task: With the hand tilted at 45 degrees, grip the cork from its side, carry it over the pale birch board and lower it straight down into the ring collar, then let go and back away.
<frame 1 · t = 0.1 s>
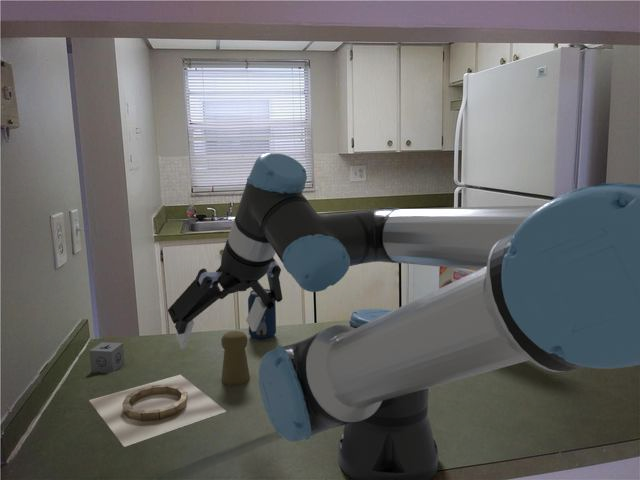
hand: (217, 333, 91), 15 cm above the counter, tool tilted 35°, fingers open, 13 cm apart
board: (156, 411, 95), on the counter
cork: (235, 385, 106), on the counter
collar: (156, 405, 94), resting on board
soda can: (262, 337, 133), on the counter
coffeecake box: (468, 344, 128), on the counter
dice cube: (108, 369, 114), on the counter
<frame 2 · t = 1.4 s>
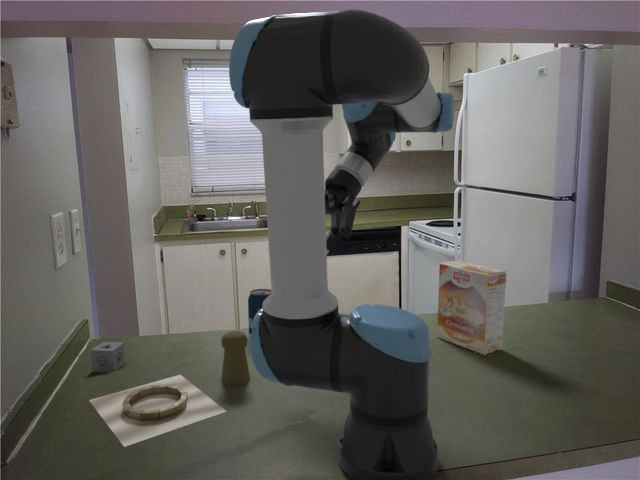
hand: (293, 255, 106), 26 cm above the counter, tool tilted 45°, fingers open, 13 cm apart
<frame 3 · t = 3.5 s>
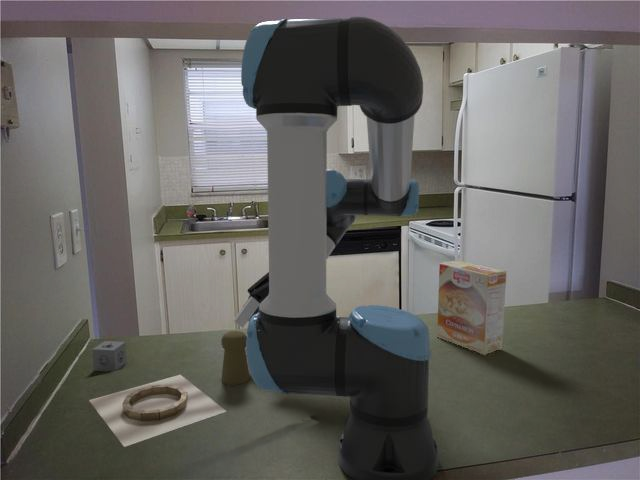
hand: (253, 332, 108), 10 cm above the counter, tool tilted 45°, fingers open, 13 cm apart
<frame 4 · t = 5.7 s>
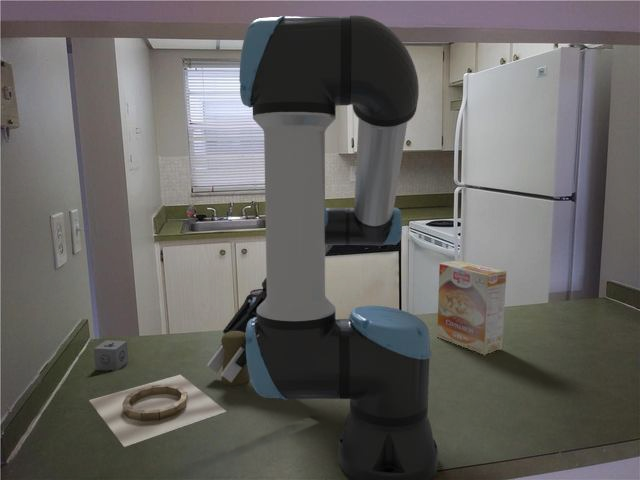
hand: (218, 373, 103), 3 cm above the counter, tool tilted 45°, fingers closed on cork, 5 cm apart
cork: (235, 385, 106), on the counter, touching gripper
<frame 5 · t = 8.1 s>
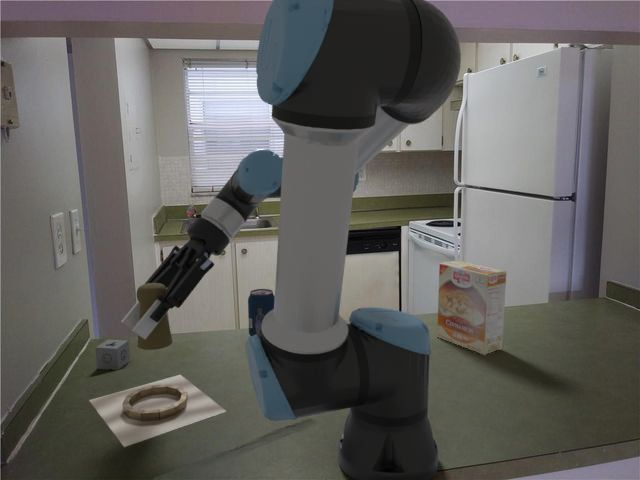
hand: (133, 330, 90), 16 cm above the counter, tool tilted 45°, fingers closed on cork, 5 cm apart
cork: (155, 344, 93), point 13 cm above the counter, touching gripper
when the fingers open (6 cm above the counter, at t = 10.4 s): cork drops 1 cm, resting on board.
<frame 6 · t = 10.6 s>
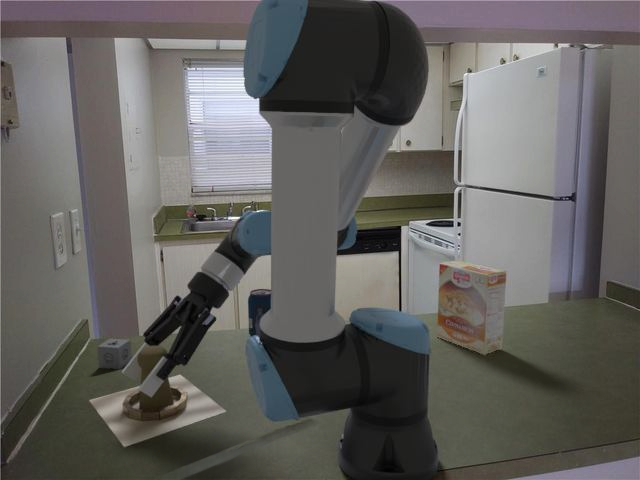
hand: (136, 384, 91), 6 cm above the counter, tool tilted 45°, fingers open, 8 cm apart
cork: (156, 406, 94), point 1 cm above the counter, touching board
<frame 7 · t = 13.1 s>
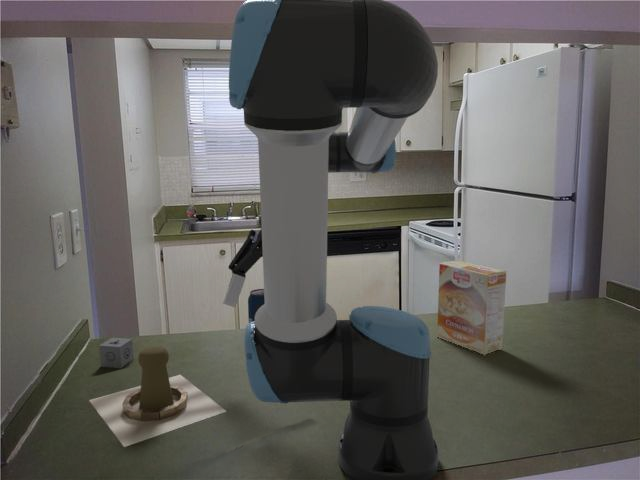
hand: (247, 311, 102), 16 cm above the counter, tool tilted 25°, fingers open, 13 cm apart
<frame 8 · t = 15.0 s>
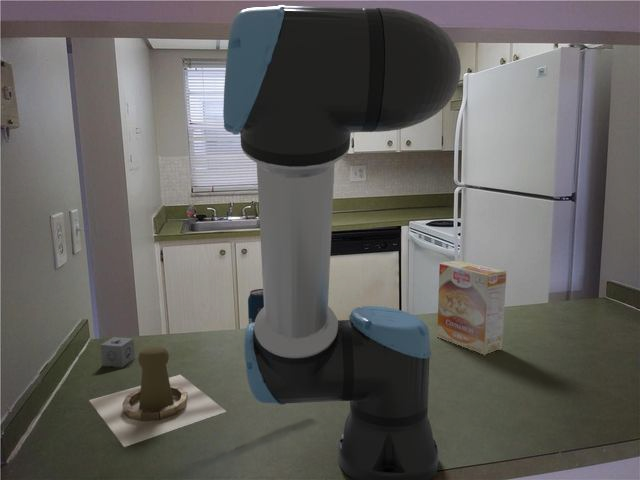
hand: (295, 243, 103), 29 cm above the counter, tool pointing down, fingers open, 13 cm apart
at the end: cork 0.1 cm from the collar (horizontally); cork tilted 0°; the gripper is holding nothing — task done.
